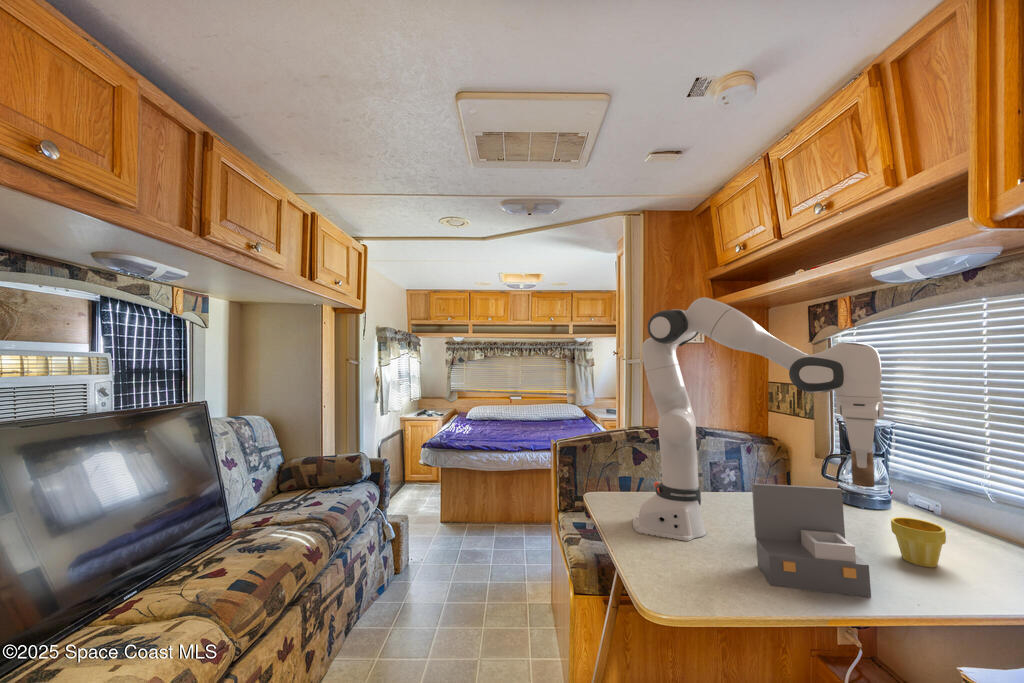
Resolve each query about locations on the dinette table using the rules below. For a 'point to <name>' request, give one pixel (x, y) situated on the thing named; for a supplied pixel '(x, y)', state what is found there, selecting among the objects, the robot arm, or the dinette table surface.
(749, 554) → the dinette table surface
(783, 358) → the robot arm
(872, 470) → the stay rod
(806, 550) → the case
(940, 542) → the plant pot
